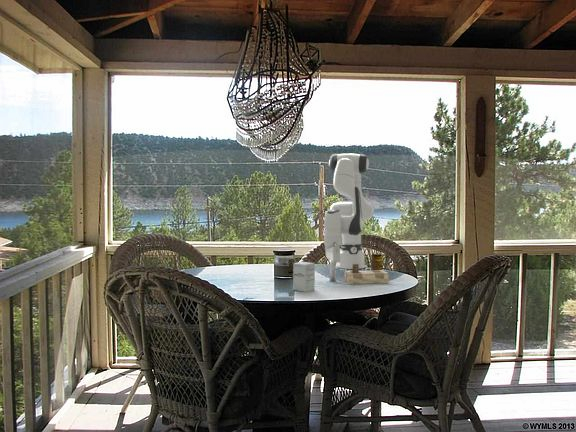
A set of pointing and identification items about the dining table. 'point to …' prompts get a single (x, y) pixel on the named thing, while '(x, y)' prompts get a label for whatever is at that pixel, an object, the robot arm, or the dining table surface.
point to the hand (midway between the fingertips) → (332, 269)
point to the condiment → (376, 262)
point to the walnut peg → (355, 268)
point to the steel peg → (332, 273)
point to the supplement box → (303, 276)
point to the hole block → (366, 277)
